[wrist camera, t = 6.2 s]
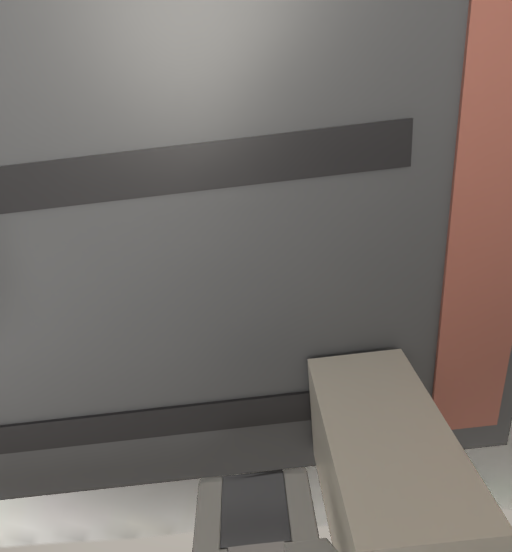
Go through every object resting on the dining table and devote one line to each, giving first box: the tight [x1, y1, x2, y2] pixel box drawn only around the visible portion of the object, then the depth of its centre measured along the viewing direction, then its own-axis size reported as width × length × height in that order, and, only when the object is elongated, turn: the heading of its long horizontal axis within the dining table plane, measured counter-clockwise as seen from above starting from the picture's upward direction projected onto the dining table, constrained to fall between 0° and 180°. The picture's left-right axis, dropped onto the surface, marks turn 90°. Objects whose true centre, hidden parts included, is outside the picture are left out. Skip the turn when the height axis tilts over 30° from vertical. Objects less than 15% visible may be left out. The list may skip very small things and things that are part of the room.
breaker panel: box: [0, 0, 512, 500], centre depth 10 cm, size 20×19×3 cm
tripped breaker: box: [307, 349, 512, 552], centre depth 9 cm, size 2×4×5 cm
